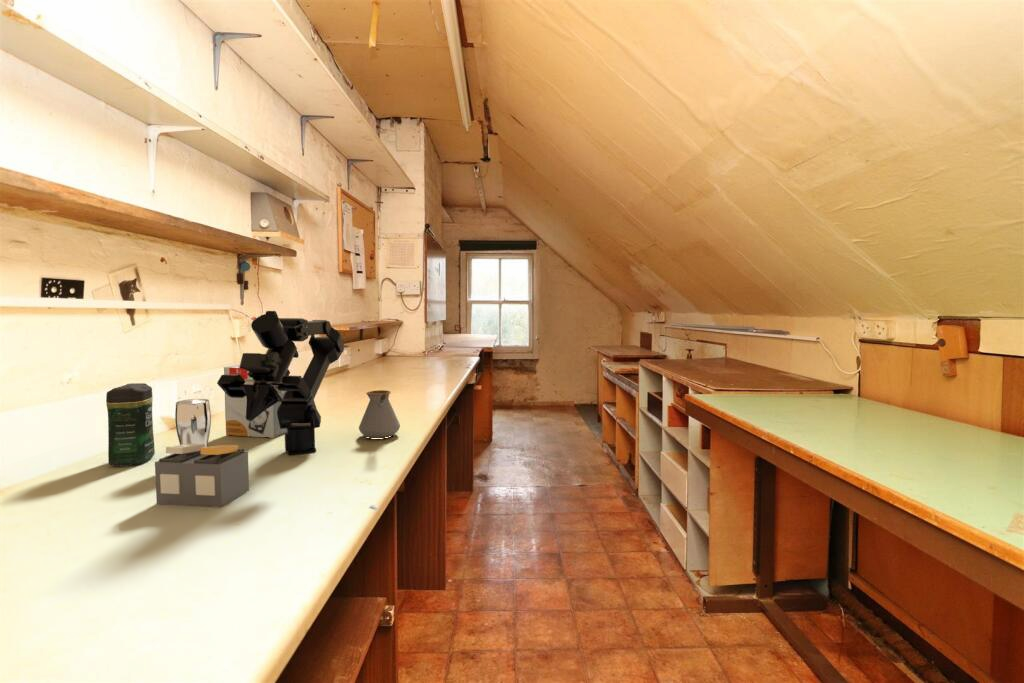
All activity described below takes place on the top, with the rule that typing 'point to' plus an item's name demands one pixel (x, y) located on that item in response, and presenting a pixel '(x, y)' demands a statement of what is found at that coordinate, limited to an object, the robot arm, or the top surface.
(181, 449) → the white rocker
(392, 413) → the coffee pot
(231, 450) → the amber rocker
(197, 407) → the beer glass
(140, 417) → the coffee jar
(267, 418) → the hard drive box
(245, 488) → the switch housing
